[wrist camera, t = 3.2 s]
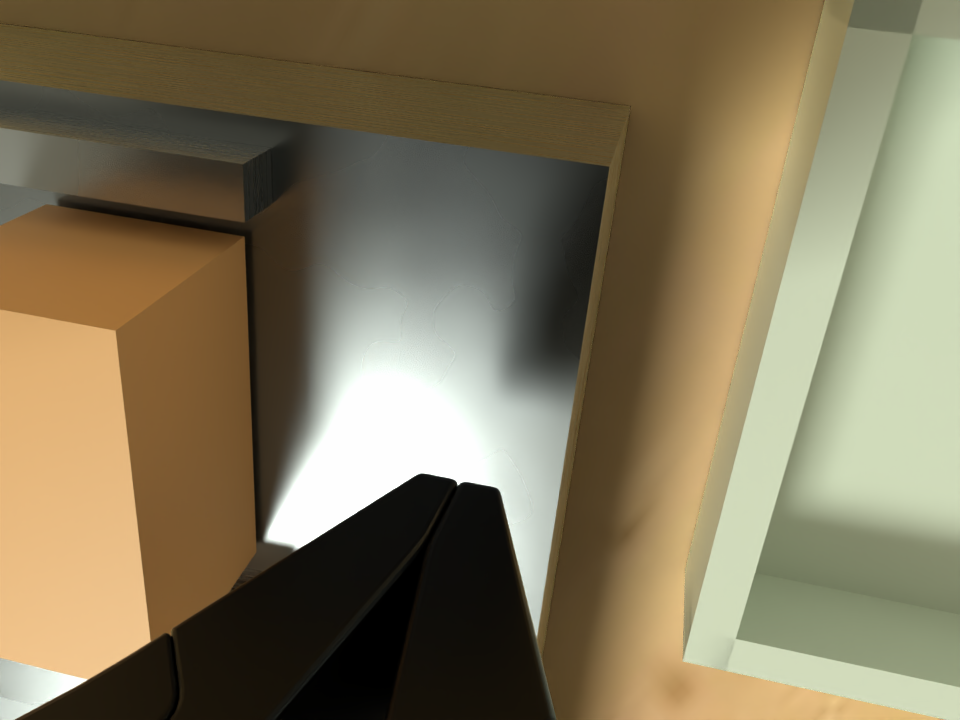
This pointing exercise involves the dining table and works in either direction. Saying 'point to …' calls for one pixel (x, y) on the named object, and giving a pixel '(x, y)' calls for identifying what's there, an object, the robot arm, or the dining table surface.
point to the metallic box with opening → (349, 266)
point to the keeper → (119, 433)
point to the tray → (848, 387)
